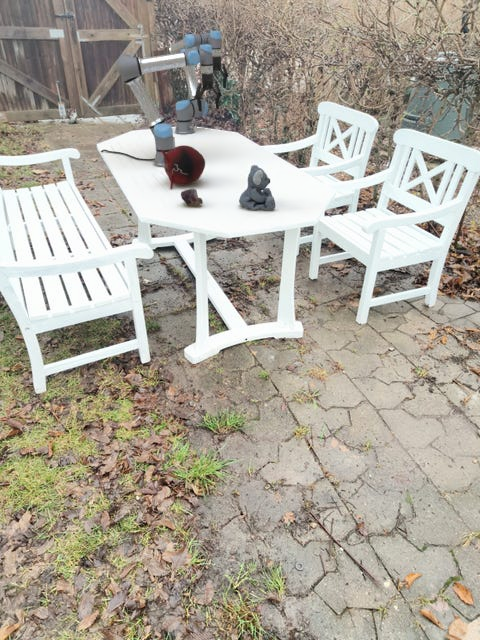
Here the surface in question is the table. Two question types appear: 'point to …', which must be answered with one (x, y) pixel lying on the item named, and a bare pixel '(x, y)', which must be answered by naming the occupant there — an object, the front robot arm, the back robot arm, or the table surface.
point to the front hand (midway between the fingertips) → (208, 110)
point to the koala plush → (257, 191)
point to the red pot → (183, 165)
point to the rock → (191, 197)
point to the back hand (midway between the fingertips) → (217, 89)
